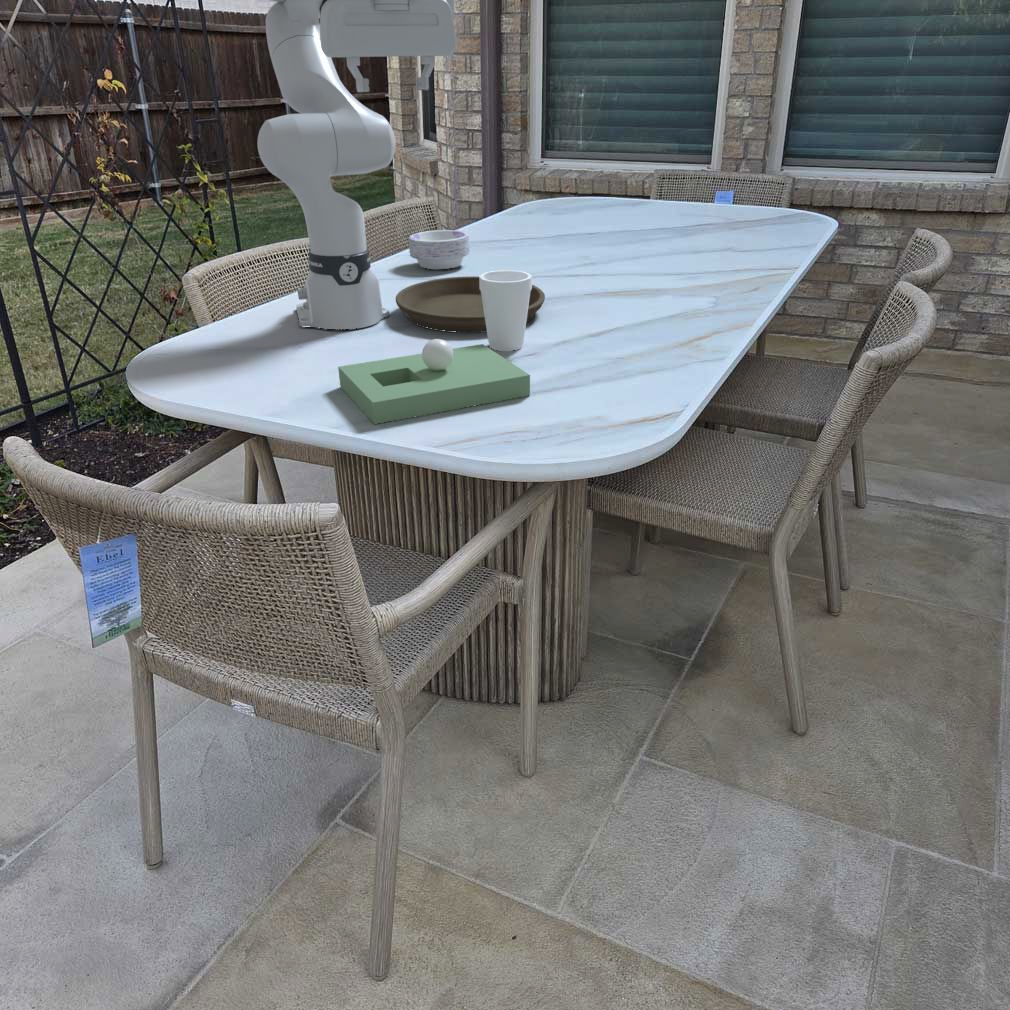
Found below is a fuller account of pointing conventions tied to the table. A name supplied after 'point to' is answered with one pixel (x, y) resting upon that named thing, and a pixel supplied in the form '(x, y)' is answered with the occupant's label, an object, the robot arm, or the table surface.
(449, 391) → the green
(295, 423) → the table surface
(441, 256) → the paper bowls
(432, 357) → the ball
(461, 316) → the plant saucer
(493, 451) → the table surface
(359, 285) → the robot arm
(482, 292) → the foam cup
